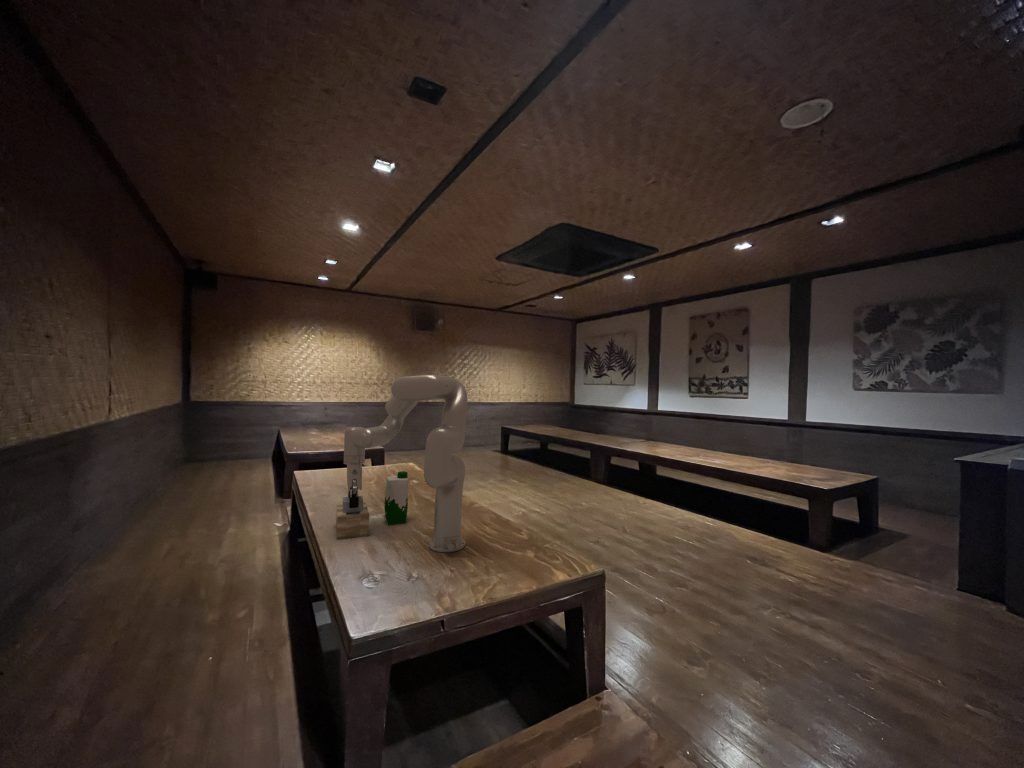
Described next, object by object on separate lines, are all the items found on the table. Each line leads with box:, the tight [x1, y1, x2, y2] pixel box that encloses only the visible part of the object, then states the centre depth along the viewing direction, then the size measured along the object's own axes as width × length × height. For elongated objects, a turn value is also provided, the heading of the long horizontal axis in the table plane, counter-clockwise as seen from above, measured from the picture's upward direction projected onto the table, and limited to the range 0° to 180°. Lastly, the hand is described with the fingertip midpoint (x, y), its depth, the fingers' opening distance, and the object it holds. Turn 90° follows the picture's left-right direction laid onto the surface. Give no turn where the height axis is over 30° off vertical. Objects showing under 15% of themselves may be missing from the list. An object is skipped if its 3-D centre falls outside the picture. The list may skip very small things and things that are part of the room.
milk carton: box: [384, 470, 409, 526], centre depth 163 cm, size 9×9×20 cm
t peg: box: [342, 495, 364, 515], centre depth 151 cm, size 7×7×10 cm
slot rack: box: [335, 502, 370, 541], centre depth 151 cm, size 16×11×8 cm
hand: (353, 504), depth 151 cm, fingers open, 9 cm apart
